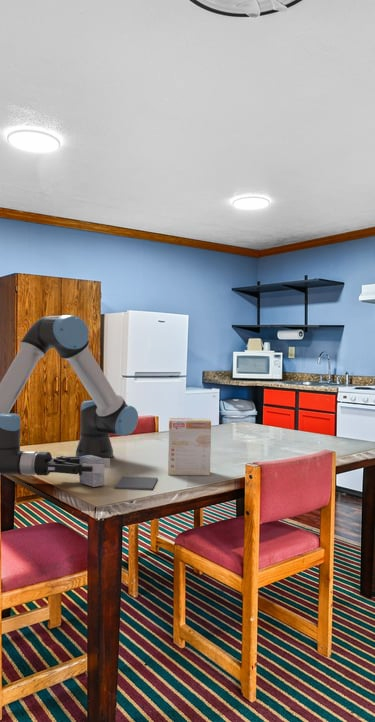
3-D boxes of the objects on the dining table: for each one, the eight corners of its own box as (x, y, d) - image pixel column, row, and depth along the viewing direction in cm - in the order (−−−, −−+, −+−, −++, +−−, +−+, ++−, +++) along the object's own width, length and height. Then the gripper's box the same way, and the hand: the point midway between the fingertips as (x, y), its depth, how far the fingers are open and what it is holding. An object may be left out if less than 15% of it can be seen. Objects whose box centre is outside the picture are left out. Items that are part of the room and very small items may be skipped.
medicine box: (104, 485, 168) (105, 458, 168) (92, 487, 165) (93, 460, 165) (90, 480, 174) (91, 454, 174) (78, 482, 171) (79, 456, 170)
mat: (122, 478, 180) (122, 476, 180) (157, 479, 179) (157, 477, 179) (114, 488, 166) (114, 486, 166) (152, 490, 165) (152, 488, 165)
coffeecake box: (208, 471, 193) (210, 418, 193) (210, 476, 186) (211, 420, 186) (167, 470, 193) (169, 417, 193) (167, 475, 186) (169, 420, 185)
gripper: (47, 467, 181) (112, 470, 180) (24, 483, 160) (98, 485, 158) (47, 445, 181) (113, 448, 179) (25, 458, 160) (99, 460, 158)
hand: (106, 465), depth 169 cm, fingers closed on medicine box, 8 cm apart
